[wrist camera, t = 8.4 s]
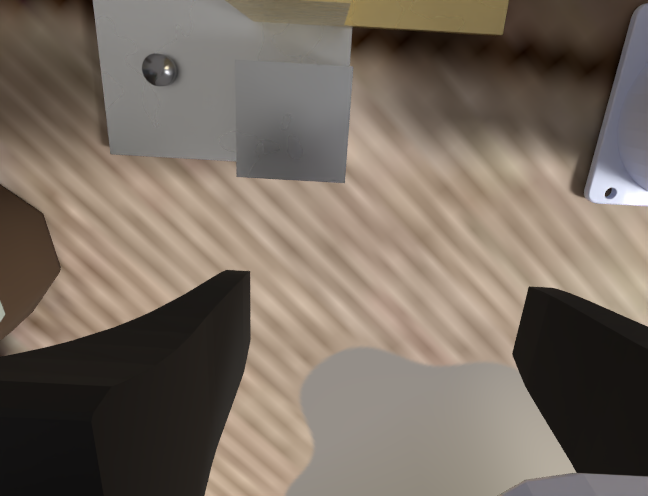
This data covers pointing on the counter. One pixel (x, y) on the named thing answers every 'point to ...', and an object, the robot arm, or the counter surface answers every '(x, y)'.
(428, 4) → the pale gold block
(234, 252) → the counter surface
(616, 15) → the counter surface
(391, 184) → the counter surface
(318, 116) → the fixed leaf
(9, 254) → the beer bottle
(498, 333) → the counter surface
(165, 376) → the robot arm
